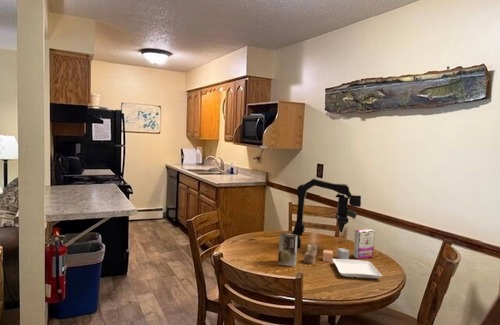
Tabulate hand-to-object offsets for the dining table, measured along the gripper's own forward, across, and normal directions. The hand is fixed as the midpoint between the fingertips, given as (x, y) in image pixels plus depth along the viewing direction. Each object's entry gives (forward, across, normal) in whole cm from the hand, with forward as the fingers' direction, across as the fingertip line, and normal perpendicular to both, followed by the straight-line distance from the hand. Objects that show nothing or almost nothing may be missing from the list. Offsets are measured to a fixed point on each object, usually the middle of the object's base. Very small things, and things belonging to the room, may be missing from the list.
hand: (340, 230), depth 212 cm
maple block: (+14, -7, +16) cm, 23 cm away
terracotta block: (+14, -16, +7) cm, 22 cm away
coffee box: (+14, -29, +30) cm, 44 cm away
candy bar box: (+14, -3, -14) cm, 20 cm away
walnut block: (+14, -22, +17) cm, 32 cm away
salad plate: (+15, -29, -6) cm, 33 cm away
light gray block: (+14, -9, -2) cm, 17 cm away
